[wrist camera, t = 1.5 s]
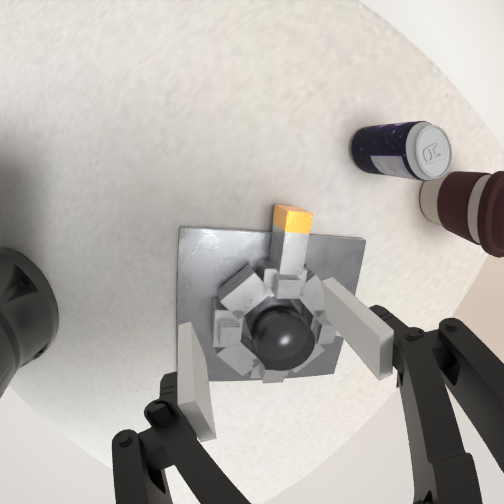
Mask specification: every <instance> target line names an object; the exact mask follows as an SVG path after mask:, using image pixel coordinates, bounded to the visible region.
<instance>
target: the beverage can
mask: <svg viewBox="0 0 504 504" xmlns="http://www.w3.org/2000/svg"><path fill="white" fill-rule="evenodd" d="M352 154H353V158H354V160H355V162H356V164H357V165H358V166H359V167H360V168H361V169H362V170H363V171H365V172H368V173H373V174H381V175H388V176H396V177H403V178H409V179H416V180H422V181H431V180H433V179H435V178H440V177H442V176H443V175H445V174H446V172H447V171H448V169H449V167H450V165H451V160H452V148H451V143H450V140H449V138H448V136H447V134H446V133H445V132H444V131H443V130H442V129H441V128H440V127H438V126H436V125H432V124H431V123H429V122H426V121H417V122H406V123H396V124H386V125H378V126H369V127H364V128H362V129H361V130H359V131H358V132H357V133H356V135H355V137H354V139H353V142H352Z"/></svg>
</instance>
